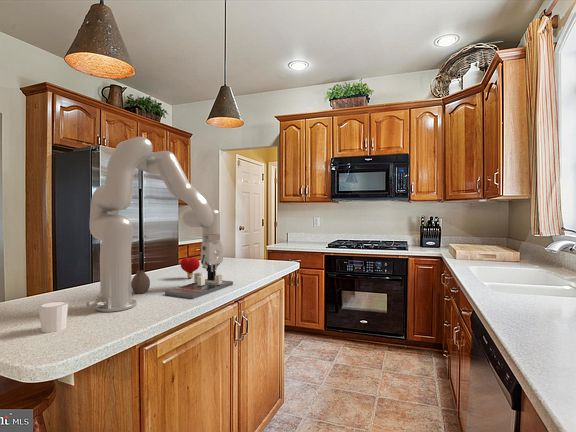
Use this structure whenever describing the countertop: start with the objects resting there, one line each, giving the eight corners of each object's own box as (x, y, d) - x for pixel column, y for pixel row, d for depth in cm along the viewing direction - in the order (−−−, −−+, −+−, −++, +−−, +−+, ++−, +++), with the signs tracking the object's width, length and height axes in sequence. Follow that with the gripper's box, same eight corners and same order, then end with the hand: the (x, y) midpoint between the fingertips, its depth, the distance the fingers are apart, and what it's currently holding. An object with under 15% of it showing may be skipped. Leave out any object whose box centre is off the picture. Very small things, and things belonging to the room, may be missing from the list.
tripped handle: (201, 285, 138) (201, 276, 138) (197, 285, 139) (197, 276, 139) (204, 284, 140) (204, 275, 140) (201, 284, 141) (201, 275, 141)
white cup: (73, 324, 97) (73, 300, 97) (58, 333, 91) (58, 307, 90) (49, 324, 97) (49, 300, 97) (32, 333, 90) (32, 307, 90)
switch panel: (193, 299, 125) (192, 284, 125) (164, 295, 131) (164, 280, 131) (233, 284, 149) (233, 272, 148) (207, 282, 155) (207, 269, 154)
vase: (150, 293, 133) (149, 271, 133) (130, 295, 131) (130, 273, 131) (150, 289, 140) (150, 268, 140) (131, 291, 137) (131, 270, 137)
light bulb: (202, 277, 166) (201, 256, 166) (196, 280, 159) (196, 259, 159) (183, 276, 167) (183, 256, 167) (177, 279, 160) (177, 258, 160)
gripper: (207, 239, 137) (207, 284, 138) (228, 237, 151) (228, 277, 151) (192, 239, 140) (193, 282, 141) (215, 236, 154) (215, 276, 154)
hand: (211, 280), depth 146 cm, fingers closed
